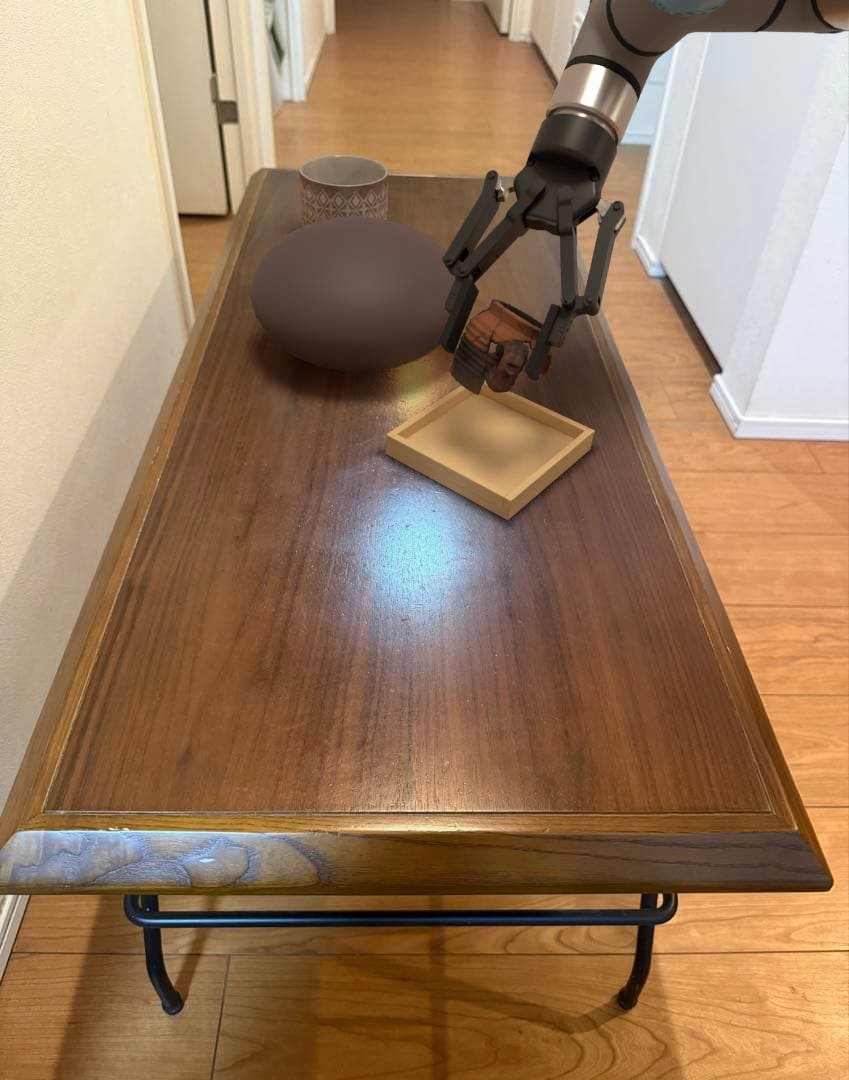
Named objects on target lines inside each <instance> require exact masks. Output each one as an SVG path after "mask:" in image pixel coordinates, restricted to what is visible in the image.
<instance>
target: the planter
mask: <svg viewBox="0 0 849 1080" xmlns="http://www.w3.org/2000/svg"><path fill="white" fill-rule="evenodd" d="M389 171H390V170H389V168H388V167H387V166H386V165H385V164H384V163H383V162H381V161H380V160H377V159H375V158H372V157H368V156H362V155H357V154H345V153H337V154H335V153H334V154H323V155H319V156H315V157H310V158H309V159H306V160H304V161H303V162H302V163H301V164H300V165H299V167H298V177H299V179H298V181H299V198H300V218H301V221H300V222H301V227H303V226H306V225H309V224H312V223H315V222H319V221H323V220H327V219H331V218H339V217H352V216H357V217H373V218H380V219H385V220H389V219H388V215H389V176H390V175H389Z"/></svg>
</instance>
